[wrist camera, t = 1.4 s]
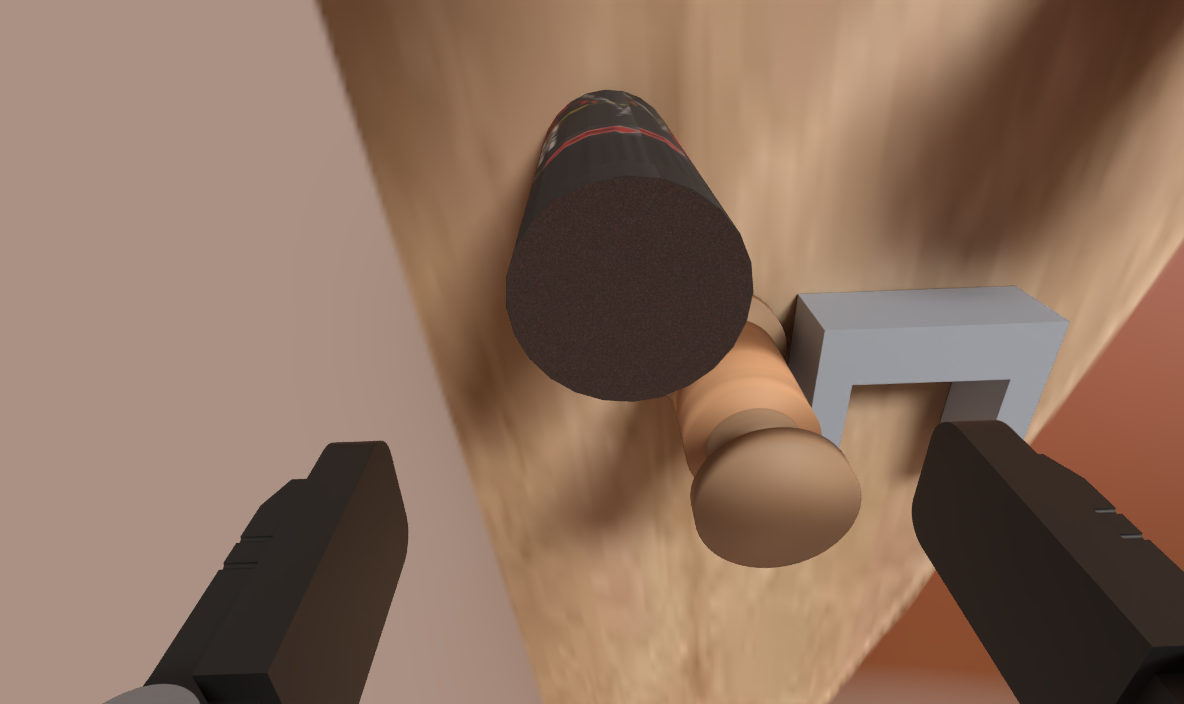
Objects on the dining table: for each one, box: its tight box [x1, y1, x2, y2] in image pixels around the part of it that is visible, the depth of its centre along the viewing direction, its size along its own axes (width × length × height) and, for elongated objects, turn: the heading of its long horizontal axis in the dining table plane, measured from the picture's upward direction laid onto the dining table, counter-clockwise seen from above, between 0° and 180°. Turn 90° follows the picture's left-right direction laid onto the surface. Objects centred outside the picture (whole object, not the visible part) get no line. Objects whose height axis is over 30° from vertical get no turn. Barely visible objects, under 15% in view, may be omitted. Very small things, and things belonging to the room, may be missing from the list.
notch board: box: [788, 286, 1070, 448], centre depth 32 cm, size 9×11×4 cm
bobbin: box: [666, 295, 861, 568], centre depth 27 cm, size 7×7×12 cm
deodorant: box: [506, 90, 753, 402], centre depth 21 cm, size 6×6×15 cm
